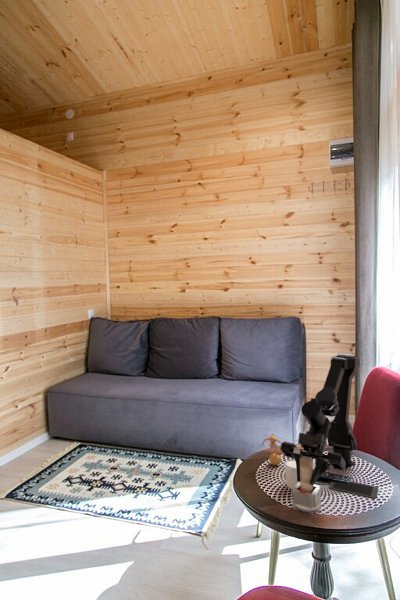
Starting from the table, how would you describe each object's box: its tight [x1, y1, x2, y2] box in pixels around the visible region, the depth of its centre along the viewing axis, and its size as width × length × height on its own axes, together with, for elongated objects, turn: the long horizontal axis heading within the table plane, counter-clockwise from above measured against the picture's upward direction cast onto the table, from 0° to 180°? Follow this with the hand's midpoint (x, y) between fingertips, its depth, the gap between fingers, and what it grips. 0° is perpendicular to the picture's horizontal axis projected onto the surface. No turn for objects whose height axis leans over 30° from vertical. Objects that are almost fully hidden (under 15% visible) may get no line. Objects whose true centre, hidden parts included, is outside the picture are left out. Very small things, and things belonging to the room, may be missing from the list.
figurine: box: [261, 433, 283, 466], centre depth 146 cm, size 8×6×12 cm
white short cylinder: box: [283, 459, 298, 490], centre depth 132 cm, size 7×7×7 cm
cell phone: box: [328, 481, 379, 500], centre depth 128 cm, size 7×14×1 cm, turn 60°
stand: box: [292, 482, 322, 513], centre depth 120 cm, size 8×8×5 cm
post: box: [300, 457, 314, 493], centre depth 120 cm, size 4×4×12 cm
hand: (304, 483), depth 119 cm, fingers closed on post, 4 cm apart
